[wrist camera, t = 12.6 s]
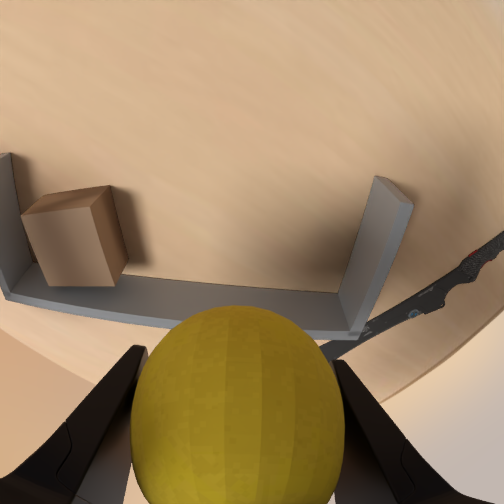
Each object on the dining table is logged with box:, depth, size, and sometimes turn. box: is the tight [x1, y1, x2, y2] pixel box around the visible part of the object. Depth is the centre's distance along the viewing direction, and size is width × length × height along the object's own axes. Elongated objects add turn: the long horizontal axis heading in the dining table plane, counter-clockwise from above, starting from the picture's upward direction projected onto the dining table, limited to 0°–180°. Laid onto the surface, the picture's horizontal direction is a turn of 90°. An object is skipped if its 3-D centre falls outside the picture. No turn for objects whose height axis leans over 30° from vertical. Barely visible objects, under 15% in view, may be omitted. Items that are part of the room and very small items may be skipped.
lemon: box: [130, 305, 345, 504], centre depth 7 cm, size 6×6×8 cm
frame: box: [0, 153, 414, 340], centre depth 16 cm, size 24×9×4 cm, turn 83°
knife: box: [319, 231, 504, 363], centre depth 23 cm, size 32×4×1 cm, turn 127°
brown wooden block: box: [21, 185, 129, 286], centre depth 17 cm, size 5×5×3 cm
